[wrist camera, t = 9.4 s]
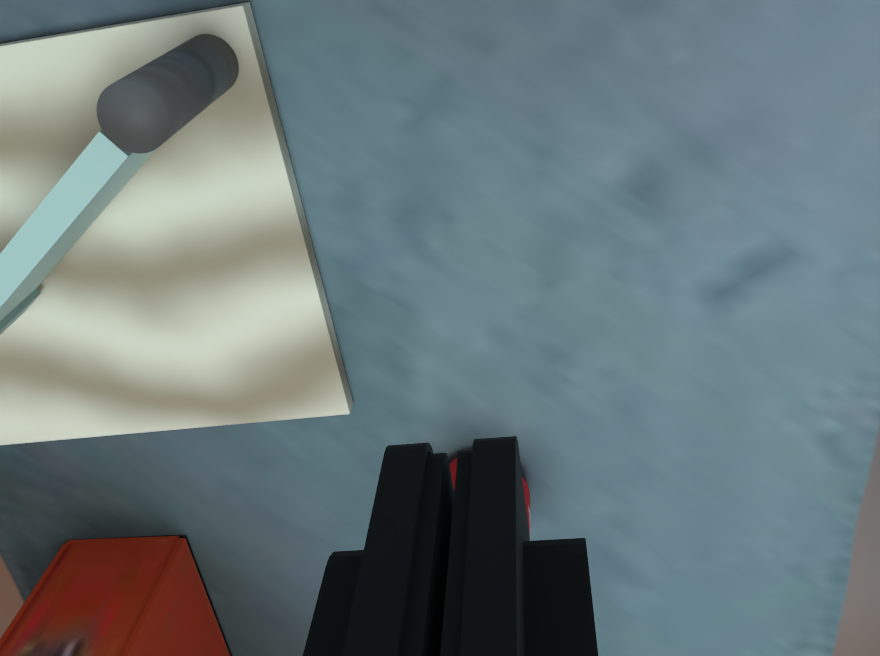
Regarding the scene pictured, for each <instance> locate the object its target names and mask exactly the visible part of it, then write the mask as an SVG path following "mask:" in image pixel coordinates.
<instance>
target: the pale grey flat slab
mask: <svg viewBox="0 0 880 656" xmlns="http://www.w3.org/2000/svg"><path fill="white" fill-rule="evenodd" d="M155 150H156V149H155ZM155 150H154V151H155ZM154 151H151V152H148V153H141V154H140V153H132V152H128V151H126V150H123V149H121V148H120V147H118V146H116V145H115V144H114V143H113V142H112V141H110V140H109V138H108V137H107V136H106V135H105V133H104V132H103V130H100V131H99V132H98V133H97V135H96V136H95V137H94V138H93V140H92V141H91V142H90V143H89V145H88V146H87V147H86V148H85V149H84V151H83V152H82V153H81V154H80V156H79V157H78V158H77V159H76V161H75V162H74V163H73V164H72V165H71V167H70V168H69V169H68V170H67V172H66V173H65V174H64V175H63V177H62V178H61V179H60V180H59V182H58V183H57V184H56V185H55V186H54V188H53V189H52V190H51V191H50V193H49V194H48V195H47V196H46V198H45V199H44V200H43V201H42V203H41V204H40V205H39V206H38V207H37V209H36V210H35V211H34V212H33V214H32V215H31V216H30V217H29V219H28V220H27V221H26V222H25V223H24V225H23V226H22V227H21V228H20V230H19V231H18V232H17V233H16V235H15V236H14V237H13V238H12V240H11V241H10V242H9V243H8V244H7V246H6V247H5V248H4V249H3V251H2V252H1V253H0V335H1V334H2V333H3V332H4V331H5V330H6V329H7V328H8V327H9V326H10V325H11V324H12V323H13V322H15V321H16V320H17V319H18V318H19V317H20V316H21V315H22V314H23V313H24V312H25V311H26V310H27V309H28V308H29V306H30V305H31V304H32V303H33V302H34V301H35V300H36V298H37V297H38V296H39V295H40V294H41V292H40V291H39V290H38V289H36V288H37V287H38V286H39V285H40V284H41V282H42V281H43V280H44V279H45V278H46V277H47V275H48V274H49V273H50V272H51V271H52V270H53V268H54V267H55V266H56V265H57V264H58V263H59V261H60V260H61V259H62V258H63V257H64V256H65V255H66V253H67V252H68V251H69V250H70V249H71V248H72V246H73V245H74V244H75V243H76V242H77V241H78V239H79V238H80V237H81V236H82V235H83V234H84V233H85V231H86V230H87V229H88V228H89V227H90V226H91V224H92V223H93V222H94V221H95V220H96V219H97V217H98V216H99V215H100V214H101V213H102V212H103V210H104V209H105V208H106V207H107V206H108V205H109V204H110V202H111V201H112V200H113V199H114V198H115V197H116V195H117V194H118V193H119V192H120V191H121V190H122V188H123V187H124V186H125V185H126V184H127V183H128V181H129V180H130V179H131V178H132V177H133V176H134V175H135V173H136V172H137V171H138V170H139V169H140V168H141V166H142V165H143V164H144V163H145V162H146V161H147V159H148V158H149V157H150V156H151V155H152V154H153V153H154Z"/></svg>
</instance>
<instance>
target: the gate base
mask: <svg viewBox="0 0 880 656" xmlns="http://www.w3.org/2000/svg"><path fill="white" fill-rule="evenodd" d="M100 130H103V132H104V133H105V135H106V136H107V137H108V138H109V140H110V141H112V142H113V143H114V144H115V145H116V146H118V147H120V148H121V149H123V150H126V151H128V152H132V153H140V154H141V153H148V152H151V151H154V150H155V149H156V150H155V151H154V153H153V154H152V155H151V156H150V157H149V158H148V159H147V161H146V162H145V163H144V164H143V165H142V166H141V168H140V169H139V170H138V171H137V172H136V173H135V175H134V176H133V177H132V178H131V179H130V180H129V181H128V183H127V184H126V185H125V186H124V187H123V188H122V190H121V191H120V192H119V193H118V194H117V195H116V197H115V198H114V199H113V200H112V201H111V202H110V204H109V205H108V206H107V207H106V208H105V209H104V210H103V212H102V213H101V214H100V215H99V216H98V217H97V219H96V220H95V221H94V222H93V223H92V224H91V226H90V227H89V228H88V229H87V230H86V231H85V233H84V234H83V235H82V236H81V237H80V238H79V239H78V241H77V242H76V243H75V244H74V245H73V246H72V248H71V249H70V250H69V251H68V252H67V253H66V255H65V256H64V257H63V258H62V259H61V260H60V261H59V263H58V264H57V265H56V266H55V267H54V268H53V270H52V271H51V272H50V273H49V274H48V275H47V277H46V278H45V279H44V280H43V281H42V282H41V284H40V285H39V286H38V287H37V288H36V289H38V290H39V291H40V292H41V294H40V295H39V296H38V297H37V298H36V300H35V301H34V302H33V303H32V304H31V305H30V306H29V308H28V309H27V310H26V311H25V312H24V313H23V314H22V315H21V316H20V317H19V318H18V319H17V320H16V321H15V322H13V323H12V324H11V325H10V326H9V327H8V328H7V329H6V330H5V331H4V332H3V333H2V334H1V335H0V445H8V444H19V443H30V442H41V441H52V440H64V439H75V438H86V437H97V436H108V435H120V434H131V433H142V432H153V431H164V430H176V429H187V428H198V427H209V426H220V425H232V424H243V423H254V422H265V421H276V420H288V419H299V418H310V417H321V416H332V415H344V414H350V412H351V409H352V405H353V400H352V396H351V392H350V388H349V384H348V380H347V377H346V373H345V369H344V365H343V361H342V357H341V353H340V349H339V346H338V342H337V338H336V334H335V330H334V326H333V322H332V319H331V315H330V311H329V307H328V303H327V299H326V295H325V291H324V288H323V284H322V280H321V276H320V272H319V268H318V264H317V260H316V257H315V253H314V249H313V245H312V241H311V237H310V233H309V229H308V226H307V222H306V218H305V214H304V210H303V206H302V202H301V198H300V195H299V191H298V187H297V183H296V179H295V175H294V171H293V167H292V164H291V160H290V156H289V152H288V148H287V144H286V140H285V137H284V133H283V129H282V125H281V121H280V117H279V113H278V109H277V106H276V102H275V98H274V94H273V90H272V86H271V82H270V78H269V75H268V71H267V67H266V63H265V59H264V55H263V51H262V47H261V44H260V40H259V36H258V32H257V28H256V24H255V20H254V16H253V13H252V9H251V5H250V2H246V3H240V4H234V5H228V6H222V7H216V8H210V9H205V10H199V11H193V12H187V13H181V14H175V15H169V16H163V17H157V18H151V19H145V20H139V21H133V22H127V23H121V24H115V25H109V26H103V27H97V28H91V29H85V30H79V31H73V32H67V33H61V34H56V35H50V36H44V37H38V38H32V39H26V40H20V41H14V42H8V43H2V44H0V253H1V252H2V251H3V249H4V248H5V247H6V246H7V244H8V243H9V242H10V241H11V240H12V238H13V237H14V236H15V235H16V233H17V232H18V231H19V230H20V228H21V227H22V226H23V225H24V223H25V222H26V221H27V220H28V219H29V217H30V216H31V215H32V214H33V212H34V211H35V210H36V209H37V207H38V206H39V205H40V204H41V203H42V201H43V200H44V199H45V198H46V196H47V195H48V194H49V193H50V191H51V190H52V189H53V188H54V186H55V185H56V184H57V183H58V182H59V180H60V179H61V178H62V177H63V175H64V174H65V173H66V172H67V170H68V169H69V168H70V167H71V165H72V164H73V163H74V162H75V161H76V159H77V158H78V157H79V156H80V154H81V153H82V152H83V151H84V149H85V148H86V147H87V146H88V145H89V143H90V142H91V141H92V140H93V138H94V137H95V136H96V135H97V133H98V132H99V131H100Z"/></svg>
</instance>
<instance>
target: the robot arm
mask: <svg viewBox="0 0 880 656" xmlns="http://www.w3.org/2000/svg"><path fill="white" fill-rule="evenodd" d="M303 656H598V650H597V641H596V631H595V622H594V613H593V604H592V594H591V585H590V576H589V566H588V557H587V548H586V540H585V538H577V539H559V540H540V541H530V534H529V526H528V518H527V511H526V503H525V495H524V487H523V479H522V471H521V464H520V456H519V448H518V441H517V437H516V436H514V437H500V438H486V439H474V442H473V451H464V452H459V453H458V457H457V468H456V479H455V490H454V487H453V481H452V476H451V470H450V465H449V460H448V456H447V454H446V453H435V454H433V451H432V447H431V445H430V443H417V444H404V445H390V446H387V447H386V449H385V453H384V457H383V462H382V467H381V471H380V476H379V481H378V486H377V491H376V495H375V500H374V505H373V510H372V514H371V519H370V524H369V529H368V533H367V538H366V543H365V548H364V550H357V551H339V552H333V553H332V554H331V556H330V557H329V560H328V562H327V565H326V568H325V572H324V576H323V580H322V584H321V588H320V591H319V595H318V599H317V603H316V607H315V611H314V615H313V619H312V622H311V626H310V630H309V634H308V638H307V642H306V646H305V650H304V653H303Z"/></svg>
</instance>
